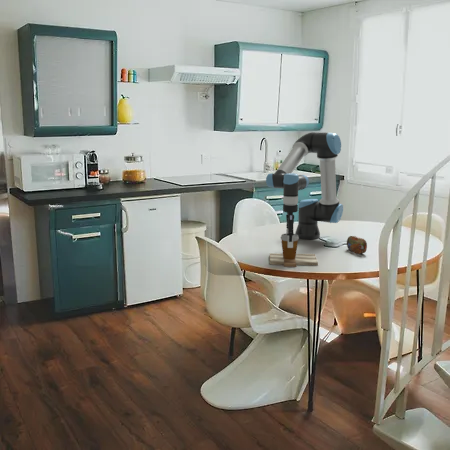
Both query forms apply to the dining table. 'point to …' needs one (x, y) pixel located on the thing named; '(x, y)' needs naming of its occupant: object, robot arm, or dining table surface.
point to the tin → (356, 244)
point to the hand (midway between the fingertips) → (289, 244)
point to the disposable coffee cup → (289, 252)
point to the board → (293, 260)
